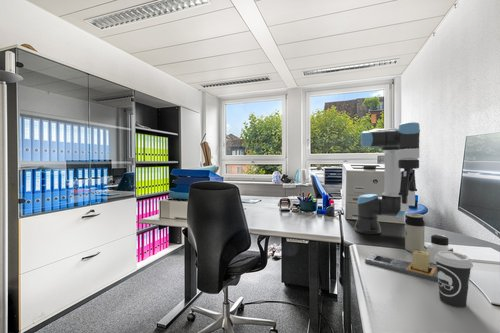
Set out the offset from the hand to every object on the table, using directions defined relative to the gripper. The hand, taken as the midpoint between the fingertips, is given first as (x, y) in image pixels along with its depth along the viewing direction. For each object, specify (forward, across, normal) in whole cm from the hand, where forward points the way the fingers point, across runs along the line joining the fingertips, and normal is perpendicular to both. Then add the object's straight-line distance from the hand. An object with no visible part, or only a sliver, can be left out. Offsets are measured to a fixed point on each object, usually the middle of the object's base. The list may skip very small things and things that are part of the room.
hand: (408, 208), depth 106 cm
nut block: (+24, +6, +6) cm, 26 cm away
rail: (+24, +6, -1) cm, 25 cm away
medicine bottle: (+25, -10, +10) cm, 29 cm away
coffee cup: (+24, +24, +17) cm, 38 cm away
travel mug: (+25, -20, -1) cm, 33 cm away
